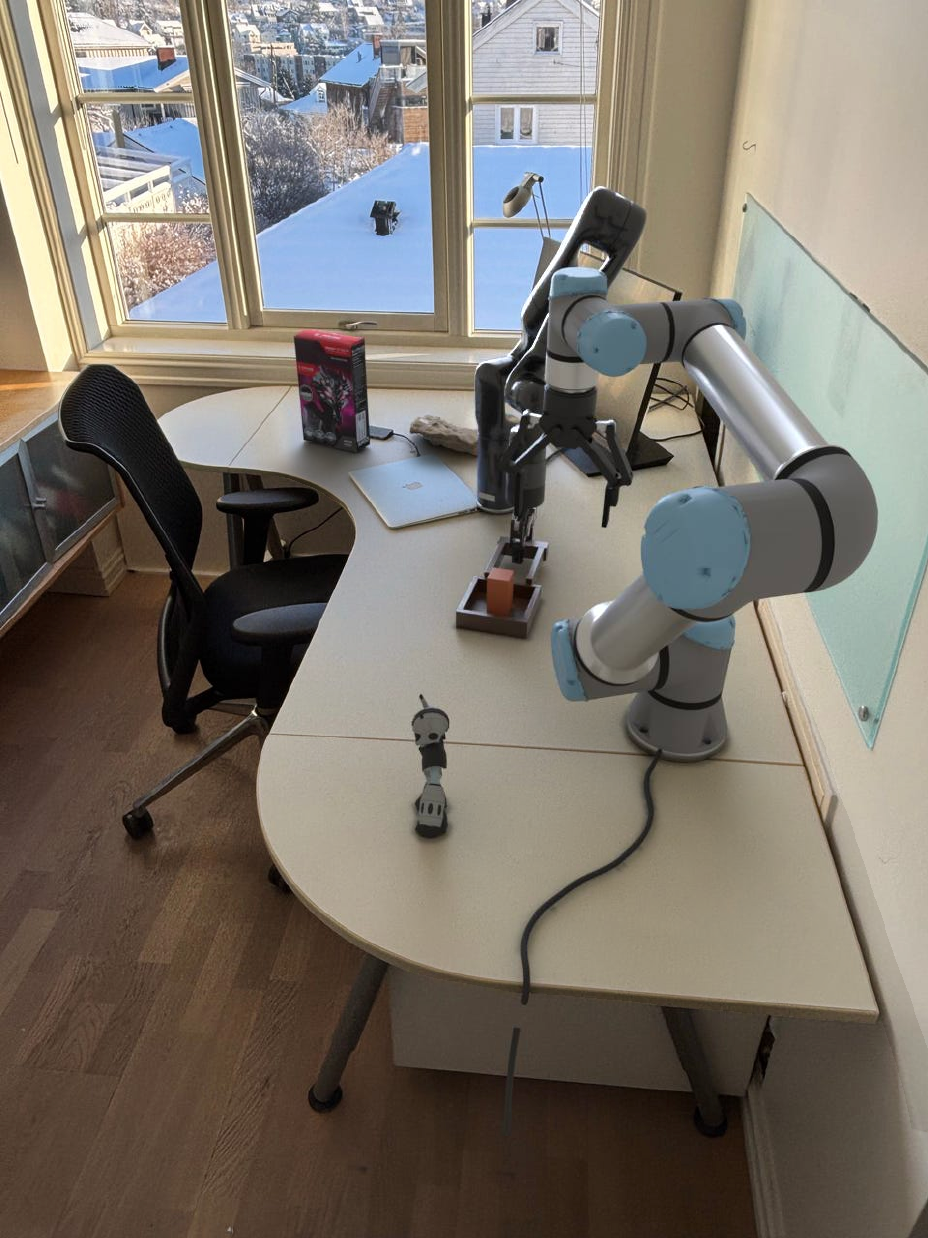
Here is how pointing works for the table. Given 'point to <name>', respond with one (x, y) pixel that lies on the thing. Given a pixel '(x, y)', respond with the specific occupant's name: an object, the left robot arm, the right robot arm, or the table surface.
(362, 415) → the graphics card box
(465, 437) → the stone
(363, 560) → the table surface
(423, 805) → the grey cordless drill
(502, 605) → the terracotta block
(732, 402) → the right robot arm
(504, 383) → the left robot arm
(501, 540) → the walnut tray
